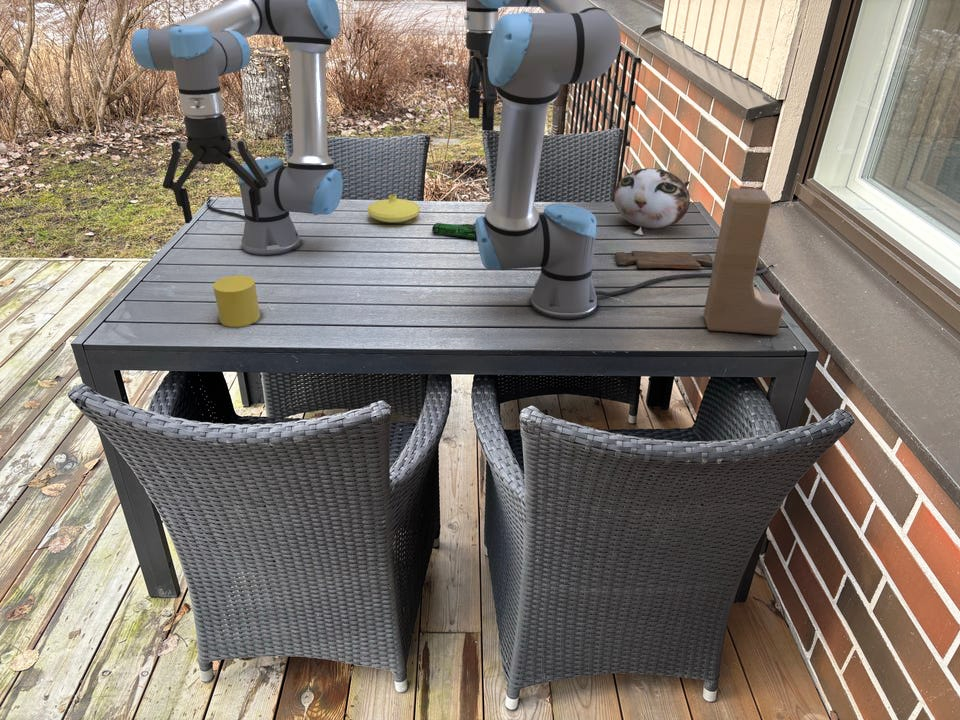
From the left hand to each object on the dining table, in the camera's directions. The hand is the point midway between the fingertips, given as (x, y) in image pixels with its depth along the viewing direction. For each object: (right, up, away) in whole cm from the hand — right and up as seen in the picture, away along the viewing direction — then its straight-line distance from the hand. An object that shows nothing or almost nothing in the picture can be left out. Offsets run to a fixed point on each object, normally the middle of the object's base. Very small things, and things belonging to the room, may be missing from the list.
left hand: (222, 220), depth 148 cm
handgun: (+50, +9, +60) cm, 78 cm away
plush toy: (+103, +11, +65) cm, 123 cm away
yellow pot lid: (+27, +14, +68) cm, 75 cm away
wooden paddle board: (+102, -3, +42) cm, 111 cm away
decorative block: (+111, -21, +11) cm, 114 cm away
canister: (0, -19, +12) cm, 23 cm away
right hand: (+54, +30, +31) cm, 69 cm away
